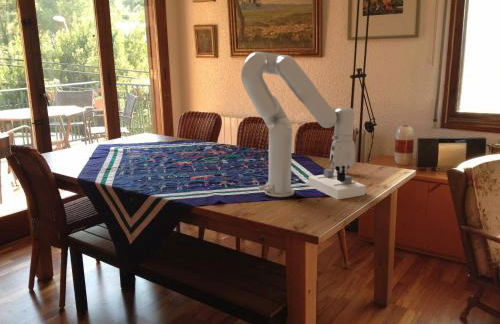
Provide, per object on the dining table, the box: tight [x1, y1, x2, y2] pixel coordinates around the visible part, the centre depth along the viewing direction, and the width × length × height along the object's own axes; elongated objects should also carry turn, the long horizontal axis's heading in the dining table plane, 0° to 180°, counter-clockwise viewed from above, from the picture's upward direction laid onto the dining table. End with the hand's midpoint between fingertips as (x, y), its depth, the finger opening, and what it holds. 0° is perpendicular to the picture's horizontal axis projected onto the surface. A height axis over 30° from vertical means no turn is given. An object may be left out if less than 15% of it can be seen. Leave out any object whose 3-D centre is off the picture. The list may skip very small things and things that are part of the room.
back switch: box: [323, 168, 335, 177], centre depth 204 cm, size 3×3×3 cm
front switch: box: [341, 174, 353, 184], centre depth 193 cm, size 3×3×3 cm
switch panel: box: [307, 173, 367, 200], centre depth 198 cm, size 14×22×4 cm, turn 26°
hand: (340, 180), depth 192 cm, fingers closed
